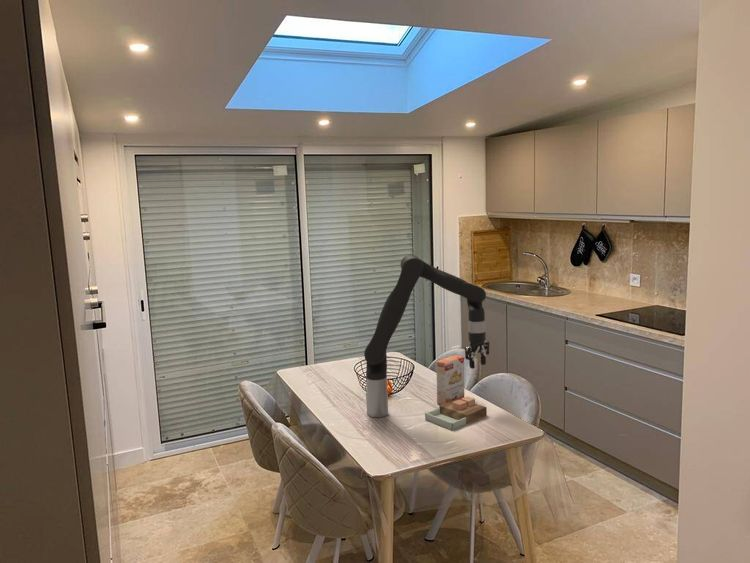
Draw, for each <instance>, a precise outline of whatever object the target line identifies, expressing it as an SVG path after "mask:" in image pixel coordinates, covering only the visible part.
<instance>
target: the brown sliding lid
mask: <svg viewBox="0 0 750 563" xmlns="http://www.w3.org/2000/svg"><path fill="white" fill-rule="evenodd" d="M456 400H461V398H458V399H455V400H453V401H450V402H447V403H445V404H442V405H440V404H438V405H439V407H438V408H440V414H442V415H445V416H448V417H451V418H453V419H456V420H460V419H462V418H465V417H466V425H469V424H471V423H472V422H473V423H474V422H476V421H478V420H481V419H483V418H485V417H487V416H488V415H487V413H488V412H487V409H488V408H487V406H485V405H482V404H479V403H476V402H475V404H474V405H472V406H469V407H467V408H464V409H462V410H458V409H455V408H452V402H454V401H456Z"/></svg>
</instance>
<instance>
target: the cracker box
mask: <svg viewBox="0 0 750 563" xmlns="http://www.w3.org/2000/svg"><path fill="white" fill-rule="evenodd" d="M435 363H436V367H435V368H436V370H435V372H436V404H438V405H442V404H445V403H447V402H450V401H453V400H455V399H458V398H461V399H462V398H464V397H465V357H464V356H461V355H457V354H454V355H452V356H448V357H446V358H442V359H440V360H436V362H435Z"/></svg>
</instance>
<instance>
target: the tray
mask: <svg viewBox="0 0 750 563" xmlns="http://www.w3.org/2000/svg"><path fill="white" fill-rule="evenodd" d="M424 419H425V421H427V422H430V423H432V424H435V425H437V426H440V427H442V428H445V429H448V430H450V431H454V430H457V429H459V428H462V427H464V426H466V425H467V424H466V417H465V418H462V419H460V420H456V419H453V418H451V417H448V416H445V415H442V414H440V408H439V407H437V408H434V409H433V410H430V411H427V412H424Z"/></svg>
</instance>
